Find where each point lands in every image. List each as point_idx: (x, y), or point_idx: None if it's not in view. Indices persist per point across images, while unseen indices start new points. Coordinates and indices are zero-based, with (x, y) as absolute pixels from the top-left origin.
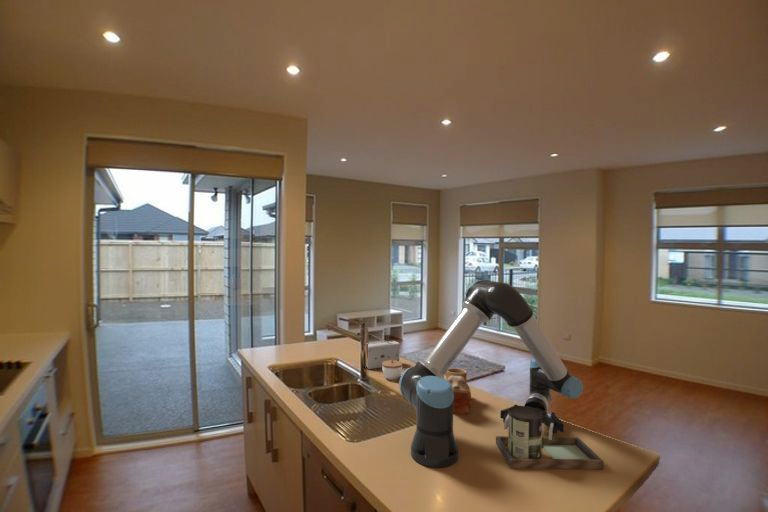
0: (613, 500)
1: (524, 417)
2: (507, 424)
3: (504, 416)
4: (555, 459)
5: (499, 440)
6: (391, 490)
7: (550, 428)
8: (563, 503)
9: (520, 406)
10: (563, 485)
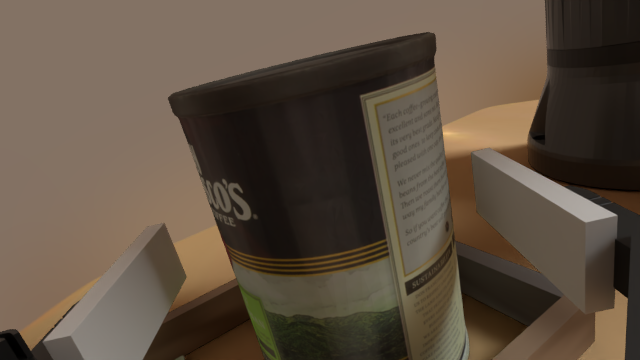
0: (61, 301)
1: (292, 65)
2: (488, 199)
3: (608, 204)
4: (191, 306)
5: (523, 271)
6: (521, 108)
7: (137, 248)
8: (216, 227)
9: (366, 52)
10: (199, 272)
